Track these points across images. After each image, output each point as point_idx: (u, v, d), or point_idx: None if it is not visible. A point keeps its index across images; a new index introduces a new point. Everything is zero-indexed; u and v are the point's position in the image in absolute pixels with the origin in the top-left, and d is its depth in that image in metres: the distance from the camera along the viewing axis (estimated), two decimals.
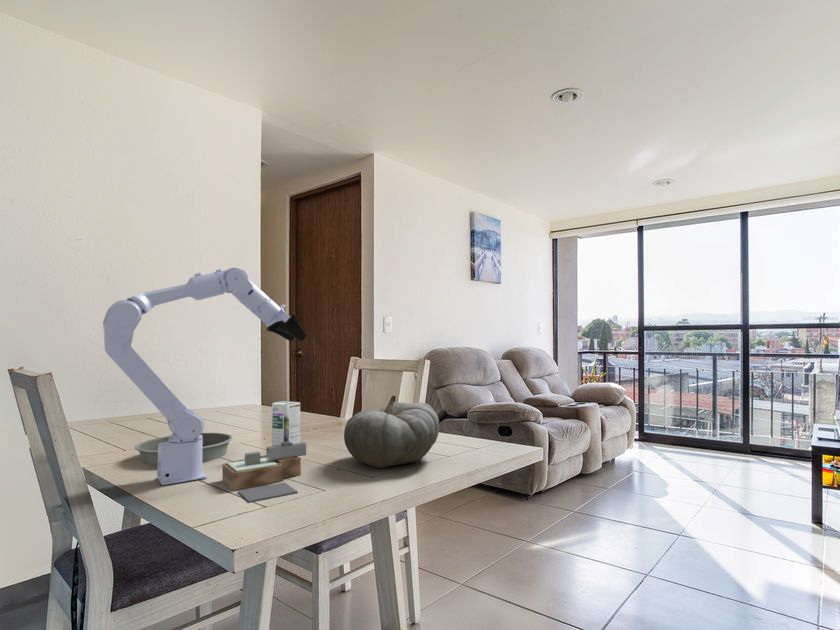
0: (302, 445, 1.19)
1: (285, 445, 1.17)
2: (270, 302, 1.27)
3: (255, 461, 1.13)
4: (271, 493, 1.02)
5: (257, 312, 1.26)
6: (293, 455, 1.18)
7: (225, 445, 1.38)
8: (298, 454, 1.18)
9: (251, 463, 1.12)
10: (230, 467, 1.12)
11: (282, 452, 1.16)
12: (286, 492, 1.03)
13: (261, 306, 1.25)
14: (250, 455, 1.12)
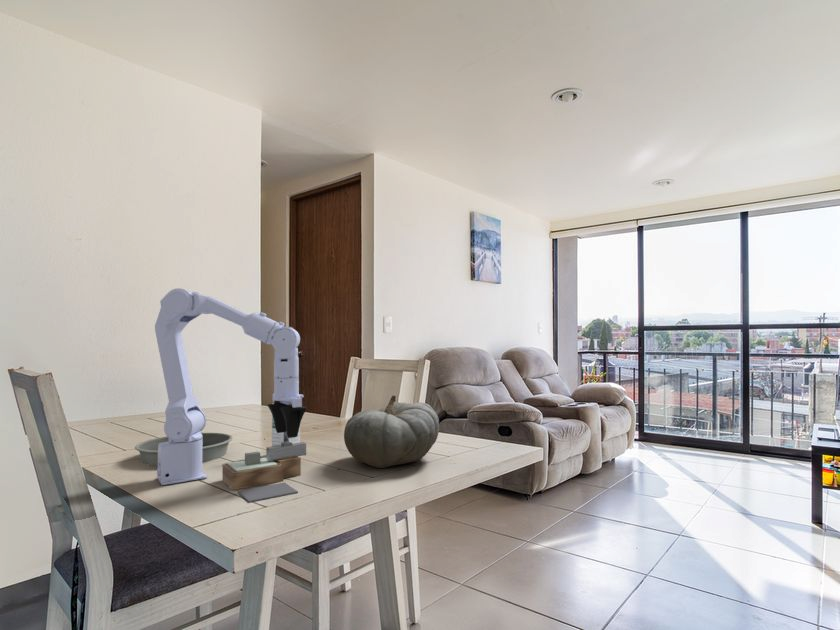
0: (302, 445, 1.19)
1: (285, 445, 1.17)
2: (296, 382, 1.17)
3: (255, 461, 1.13)
4: (271, 493, 1.02)
5: (278, 380, 1.16)
6: (293, 455, 1.18)
7: (225, 445, 1.38)
8: (298, 454, 1.18)
9: (251, 463, 1.12)
10: (230, 467, 1.12)
11: (282, 452, 1.16)
12: (286, 492, 1.03)
13: (286, 378, 1.16)
14: (250, 455, 1.12)
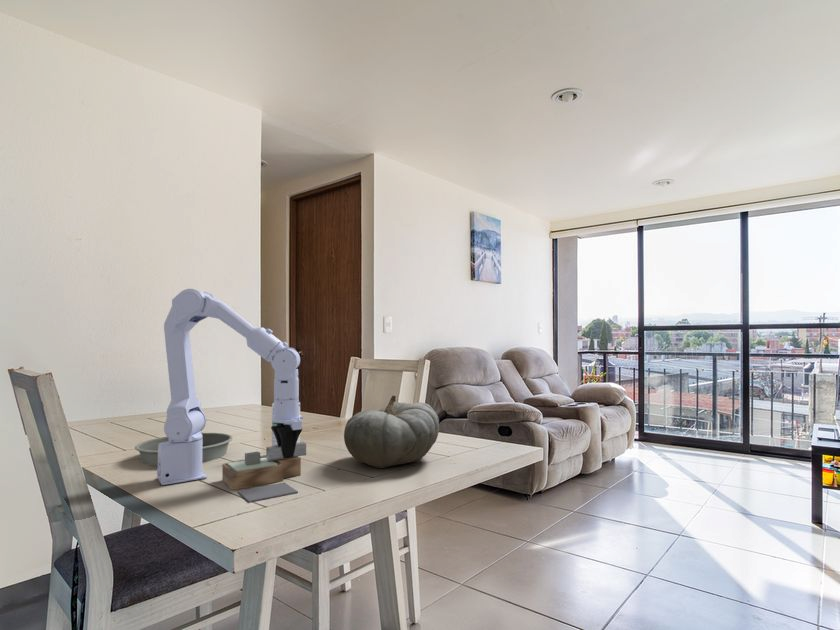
0: (302, 445, 1.19)
1: None
2: (296, 404, 1.17)
3: (255, 461, 1.13)
4: (271, 493, 1.02)
5: (278, 402, 1.16)
6: (293, 455, 1.18)
7: (225, 445, 1.38)
8: (298, 454, 1.18)
9: (251, 463, 1.12)
10: (230, 467, 1.12)
11: (282, 452, 1.16)
12: (286, 492, 1.03)
13: (286, 400, 1.16)
14: (250, 455, 1.12)
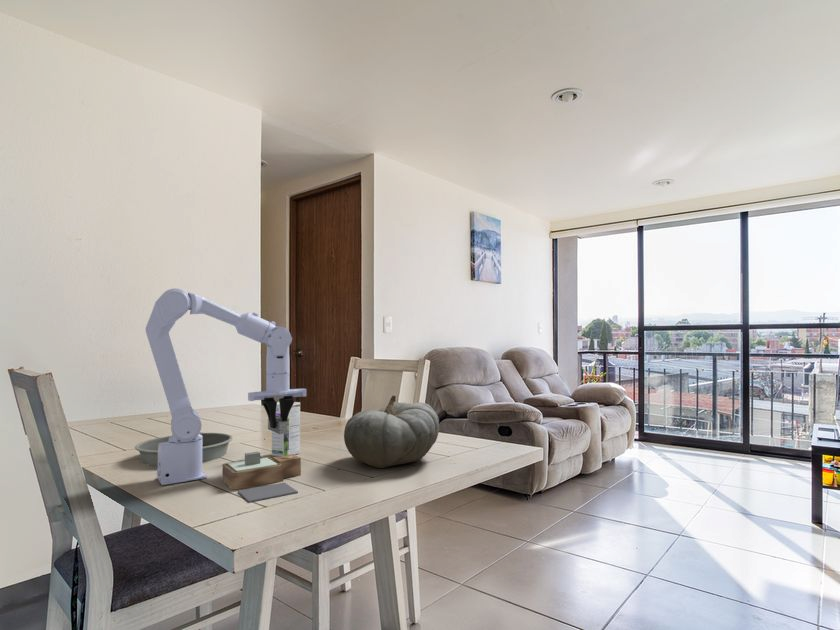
0: (278, 423, 1.23)
1: None
2: (270, 379, 1.24)
3: (255, 461, 1.13)
4: (271, 493, 1.02)
5: None
6: (275, 430, 1.25)
7: (225, 445, 1.38)
8: (276, 431, 1.24)
9: (251, 463, 1.12)
10: (230, 467, 1.12)
11: None
12: (286, 492, 1.03)
13: (266, 374, 1.26)
14: (250, 455, 1.12)
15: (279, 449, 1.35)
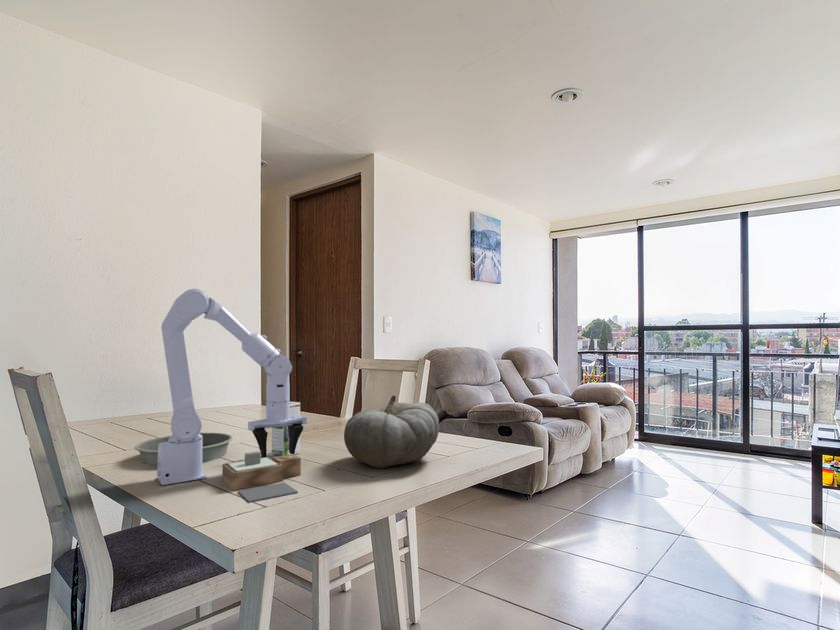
0: None
1: (272, 455, 1.26)
2: (270, 407, 1.23)
3: (255, 461, 1.13)
4: (271, 493, 1.02)
5: None
6: None
7: (225, 445, 1.38)
8: None
9: (251, 463, 1.12)
10: (230, 467, 1.12)
11: None
12: (286, 492, 1.03)
13: (266, 402, 1.25)
14: (250, 455, 1.12)
15: (279, 449, 1.35)
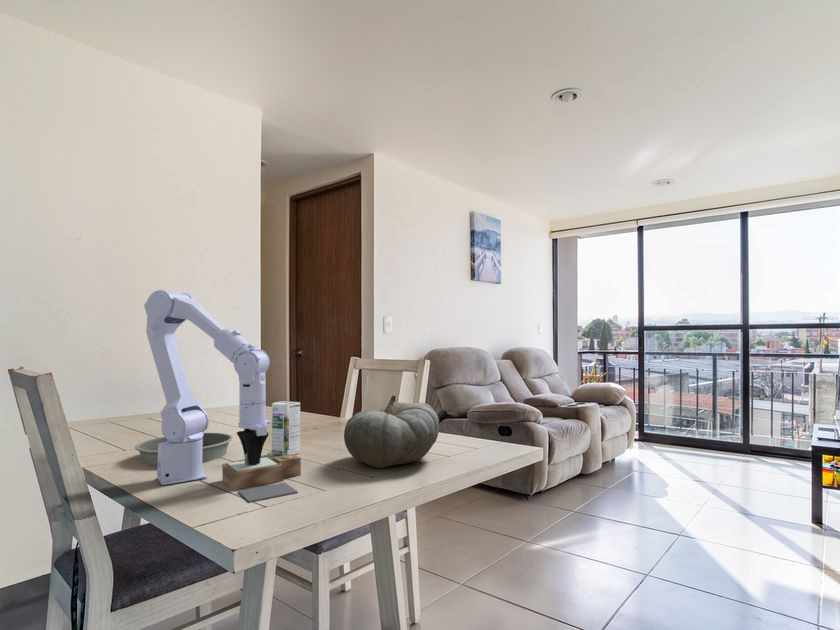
0: None
1: (272, 455, 1.26)
2: (262, 408, 1.13)
3: None
4: (271, 493, 1.02)
5: (243, 406, 1.11)
6: None
7: (225, 445, 1.38)
8: None
9: None
10: (230, 467, 1.12)
11: None
12: (286, 492, 1.03)
13: (252, 404, 1.11)
14: None
15: (279, 449, 1.35)
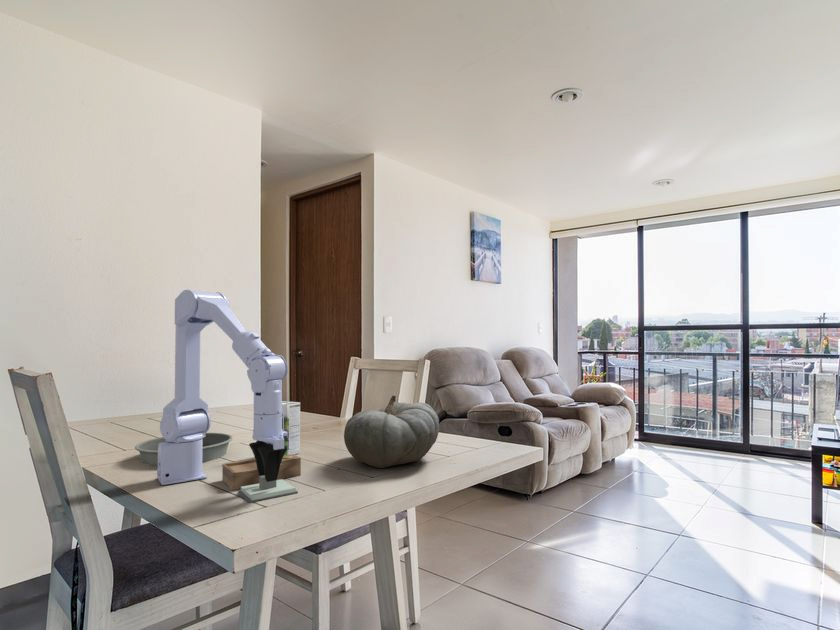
0: None
1: None
2: (278, 419, 1.03)
3: (270, 484, 1.03)
4: None
5: (258, 417, 1.02)
6: None
7: (225, 445, 1.38)
8: None
9: (266, 487, 1.03)
10: (244, 491, 1.02)
11: None
12: None
13: (267, 415, 1.02)
14: None
15: None
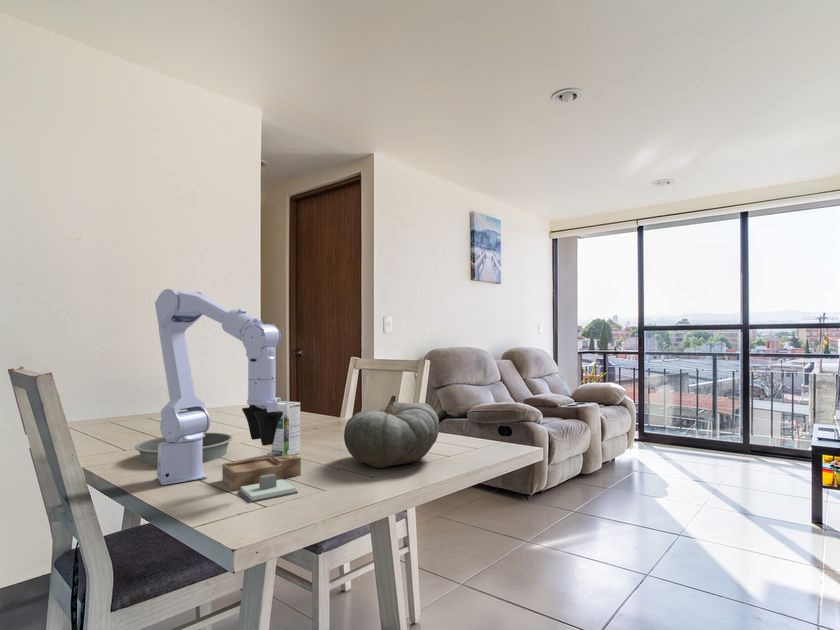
0: None
1: (272, 455, 1.26)
2: (272, 384, 1.07)
3: (270, 484, 1.03)
4: None
5: (252, 382, 1.06)
6: None
7: (225, 445, 1.38)
8: None
9: (266, 487, 1.03)
10: (244, 491, 1.02)
11: None
12: None
13: (261, 380, 1.05)
14: (265, 478, 1.03)
15: (279, 449, 1.35)
